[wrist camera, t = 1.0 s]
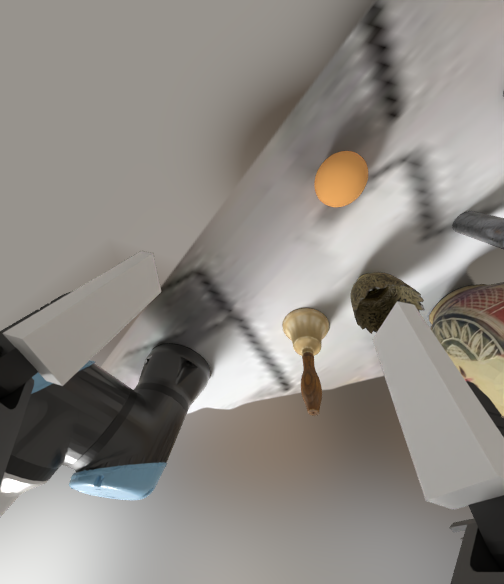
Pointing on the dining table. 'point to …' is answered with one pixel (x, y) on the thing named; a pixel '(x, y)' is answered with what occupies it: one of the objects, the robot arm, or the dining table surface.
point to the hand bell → (307, 350)
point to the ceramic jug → (474, 336)
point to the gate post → (481, 227)
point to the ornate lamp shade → (380, 298)
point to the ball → (341, 179)
